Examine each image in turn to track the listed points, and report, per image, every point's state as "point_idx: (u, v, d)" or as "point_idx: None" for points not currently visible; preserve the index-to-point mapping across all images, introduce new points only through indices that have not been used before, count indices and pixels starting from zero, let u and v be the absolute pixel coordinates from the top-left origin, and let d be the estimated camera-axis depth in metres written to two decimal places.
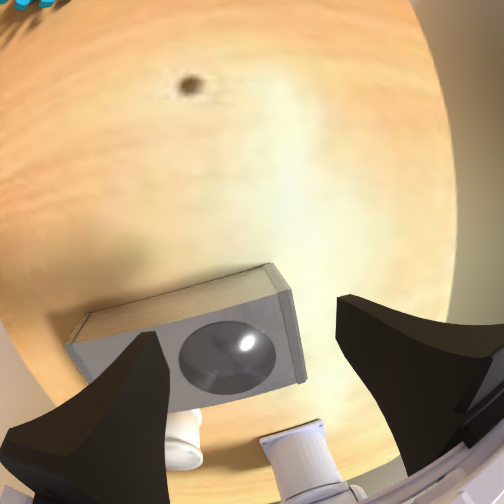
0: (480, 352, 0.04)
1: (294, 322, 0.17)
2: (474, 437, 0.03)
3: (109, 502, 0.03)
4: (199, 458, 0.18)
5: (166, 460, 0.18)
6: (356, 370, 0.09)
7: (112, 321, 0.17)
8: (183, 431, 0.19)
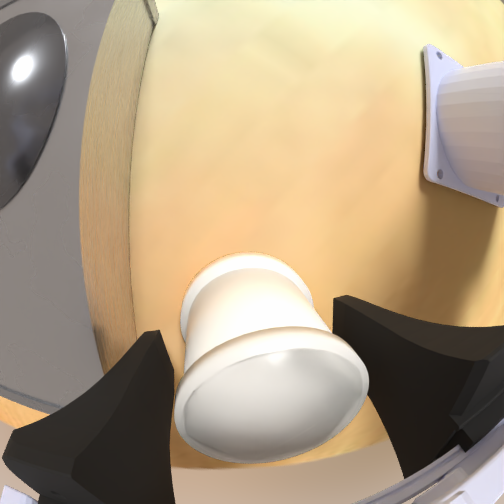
0: (476, 354, 0.04)
1: None
2: (470, 440, 0.03)
3: (116, 502, 0.03)
4: (316, 351, 0.06)
5: (282, 432, 0.07)
6: None
7: None
8: (209, 329, 0.07)
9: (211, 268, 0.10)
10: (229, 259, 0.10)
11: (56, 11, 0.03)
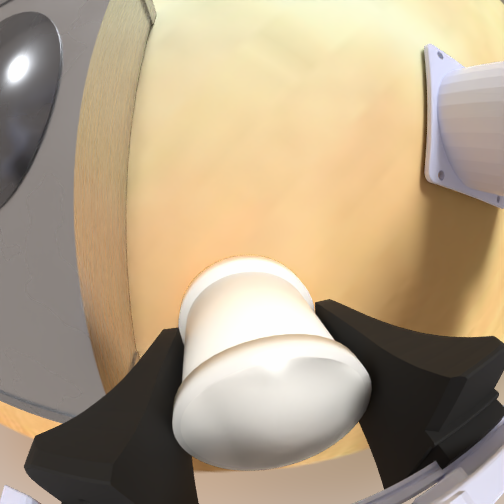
0: (453, 370, 0.04)
1: None
2: (447, 458, 0.03)
3: None
4: (318, 359, 0.05)
5: (283, 439, 0.06)
6: None
7: None
8: (208, 335, 0.07)
9: (209, 271, 0.10)
10: (229, 263, 0.10)
11: (51, 10, 0.03)
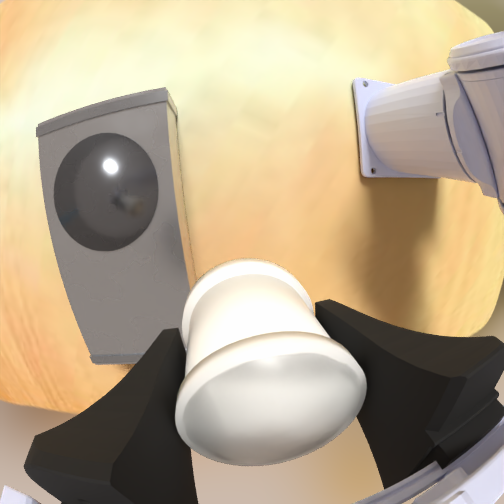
0: (454, 369, 0.04)
1: (70, 114, 0.11)
2: (447, 458, 0.03)
3: None
4: (311, 355, 0.06)
5: (281, 434, 0.07)
6: None
7: None
8: (208, 335, 0.07)
9: (210, 275, 0.11)
10: (229, 266, 0.11)
11: (132, 135, 0.12)
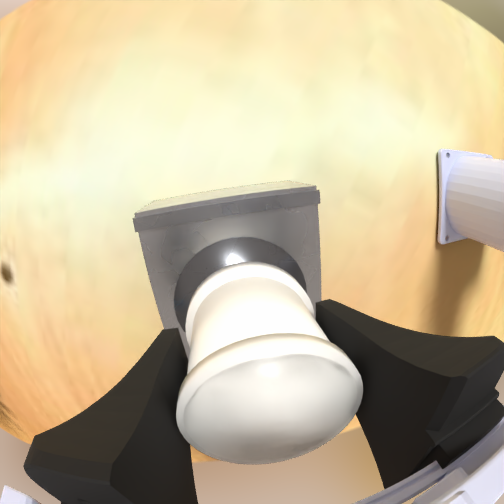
0: (454, 370, 0.04)
1: (190, 207, 0.11)
2: (447, 458, 0.03)
3: None
4: (302, 356, 0.06)
5: (281, 433, 0.07)
6: None
7: None
8: (206, 338, 0.08)
9: (210, 279, 0.11)
10: (228, 271, 0.11)
11: (280, 242, 0.12)
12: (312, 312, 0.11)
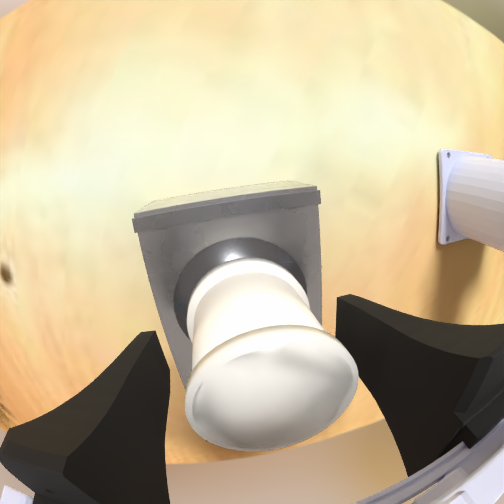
0: (480, 351, 0.04)
1: (189, 207, 0.11)
2: (474, 437, 0.03)
3: (109, 501, 0.03)
4: (303, 345, 0.07)
5: (282, 420, 0.07)
6: None
7: None
8: (211, 331, 0.08)
9: (210, 275, 0.11)
10: (227, 266, 0.11)
11: (280, 242, 0.12)
12: (307, 305, 0.12)
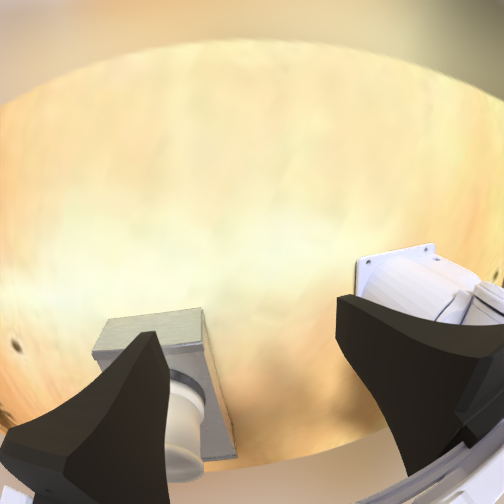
0: (480, 352, 0.04)
1: (122, 351, 0.16)
2: (474, 437, 0.03)
3: (109, 501, 0.03)
4: None
5: (167, 472, 0.12)
6: (356, 370, 0.09)
7: None
8: None
9: None
10: None
11: (181, 370, 0.17)
12: (200, 407, 0.17)
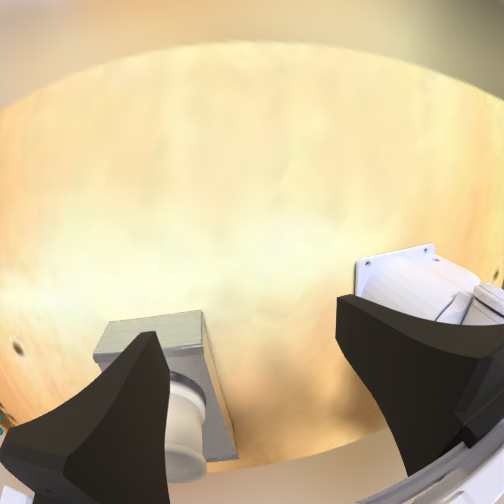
0: (480, 352, 0.04)
1: None
2: (474, 437, 0.03)
3: (109, 501, 0.03)
4: None
5: (170, 472, 0.12)
6: (356, 370, 0.09)
7: None
8: None
9: None
10: None
11: (181, 372, 0.17)
12: (201, 407, 0.17)
